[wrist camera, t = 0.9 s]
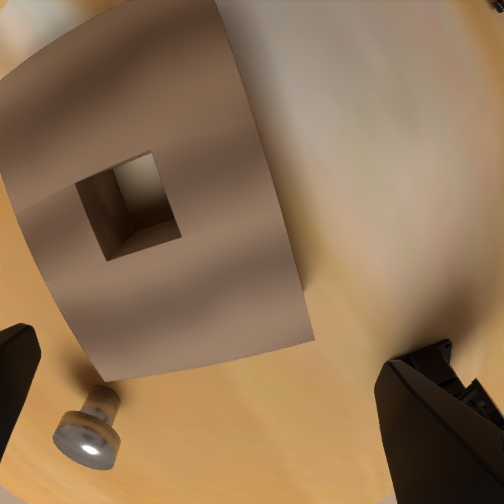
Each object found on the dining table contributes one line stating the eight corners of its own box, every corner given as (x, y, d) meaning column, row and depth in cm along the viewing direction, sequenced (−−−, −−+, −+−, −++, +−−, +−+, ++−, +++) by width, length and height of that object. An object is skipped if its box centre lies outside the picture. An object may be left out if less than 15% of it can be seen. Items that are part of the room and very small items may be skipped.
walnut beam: (301, 296, 22) (314, 339, 17) (125, 339, 23) (104, 381, 19) (213, 7, 15) (204, -28, 10) (27, 96, 16) (-18, 95, 12)
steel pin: (142, 413, 27) (126, 471, 20) (98, 416, 27) (78, 468, 21) (113, 373, 25) (87, 432, 18) (69, 378, 25) (40, 430, 19)
